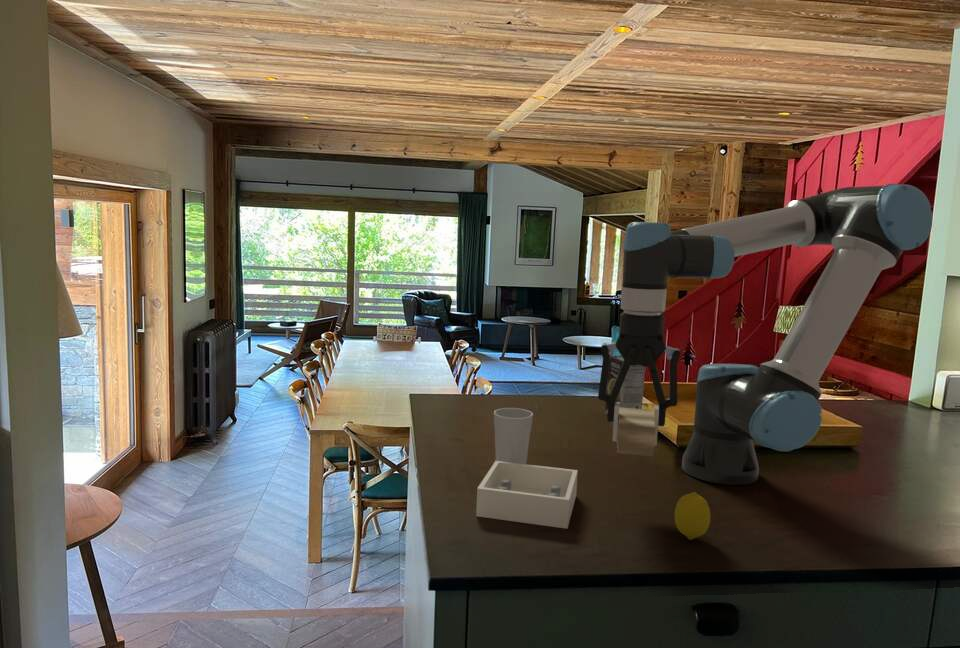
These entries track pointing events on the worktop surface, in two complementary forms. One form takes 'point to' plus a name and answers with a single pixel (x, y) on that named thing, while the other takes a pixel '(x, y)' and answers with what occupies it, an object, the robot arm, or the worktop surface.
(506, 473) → the white open box
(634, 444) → the beige rectangular block
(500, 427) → the cup
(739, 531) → the worktop surface
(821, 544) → the worktop surface
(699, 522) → the lemon
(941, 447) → the worktop surface
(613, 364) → the coffee box
